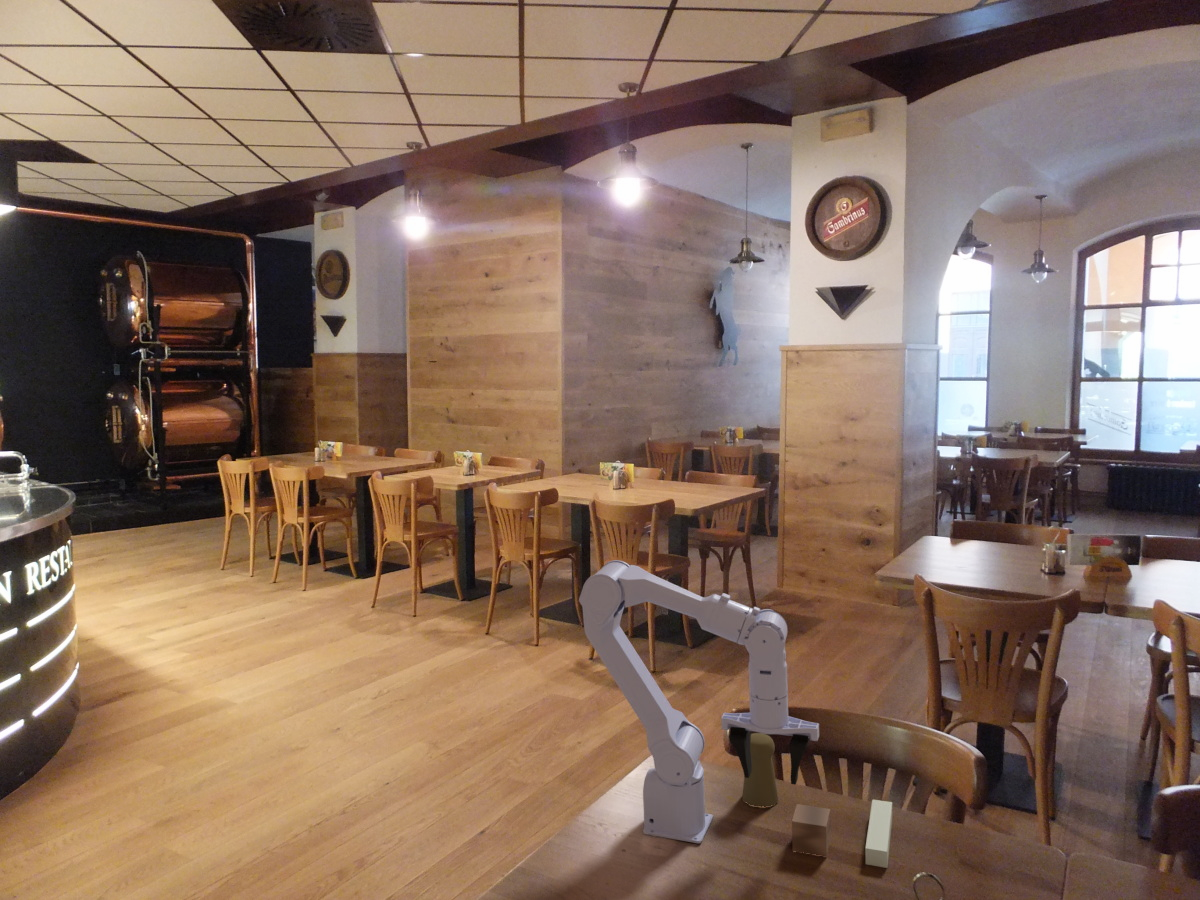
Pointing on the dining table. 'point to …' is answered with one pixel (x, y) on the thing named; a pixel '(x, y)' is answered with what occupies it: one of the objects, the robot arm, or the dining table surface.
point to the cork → (761, 773)
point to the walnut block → (811, 830)
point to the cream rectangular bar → (879, 834)
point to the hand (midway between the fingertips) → (770, 777)
